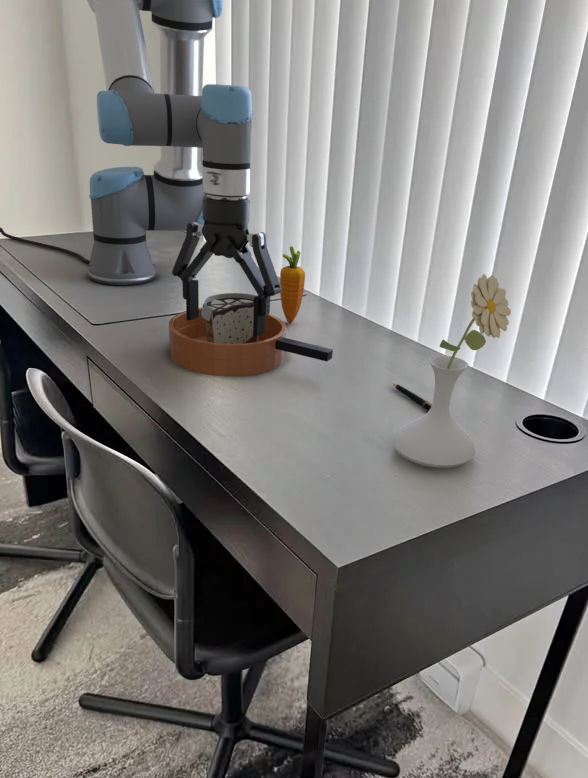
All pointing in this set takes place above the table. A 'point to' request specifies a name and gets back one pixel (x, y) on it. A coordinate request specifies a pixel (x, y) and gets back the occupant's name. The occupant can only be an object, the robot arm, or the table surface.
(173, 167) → the robot arm
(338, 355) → the table surface
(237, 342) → the food container
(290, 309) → the carrot
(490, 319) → the flower in vase
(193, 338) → the pan
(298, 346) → the pan handle
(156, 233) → the table surface
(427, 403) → the fountain pen
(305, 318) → the table surface
